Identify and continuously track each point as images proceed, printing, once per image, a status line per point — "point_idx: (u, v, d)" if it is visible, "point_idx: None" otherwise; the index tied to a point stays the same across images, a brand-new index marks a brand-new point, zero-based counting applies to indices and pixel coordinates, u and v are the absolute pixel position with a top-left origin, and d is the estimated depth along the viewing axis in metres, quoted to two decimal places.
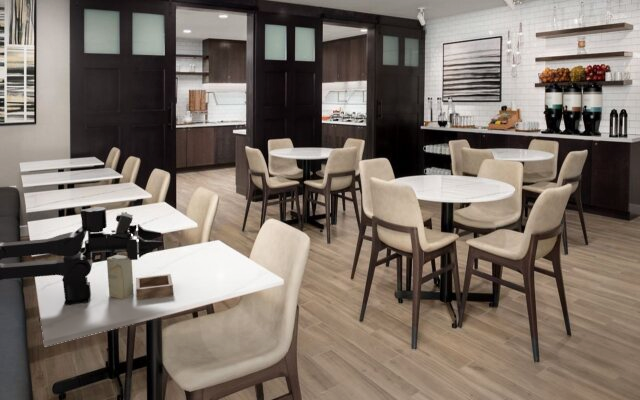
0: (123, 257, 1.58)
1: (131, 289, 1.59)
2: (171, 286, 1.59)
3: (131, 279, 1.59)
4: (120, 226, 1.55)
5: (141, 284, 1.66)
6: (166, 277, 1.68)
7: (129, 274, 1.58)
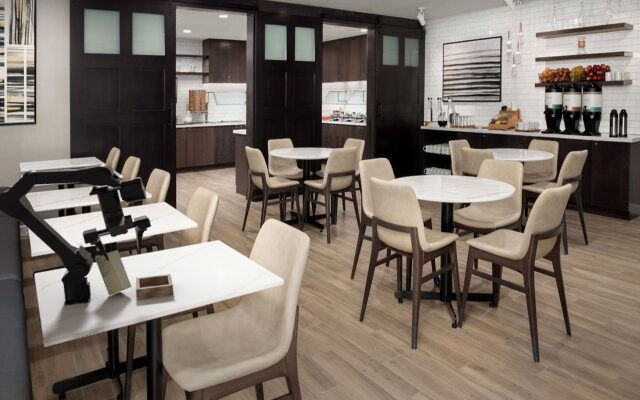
0: None
1: (127, 281, 1.60)
2: (171, 286, 1.59)
3: (124, 271, 1.60)
4: (107, 224, 1.50)
5: (141, 284, 1.66)
6: (166, 277, 1.68)
7: (120, 266, 1.59)
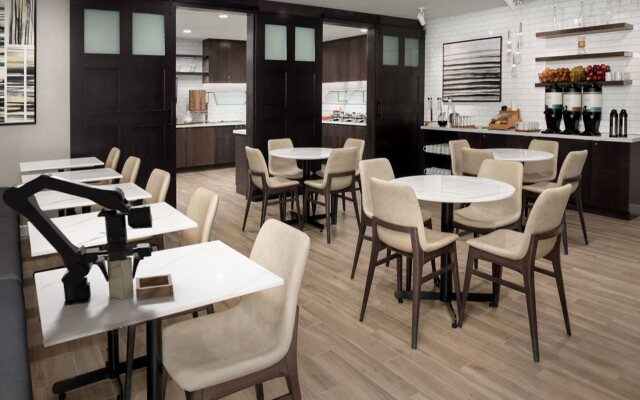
0: None
1: (131, 289, 1.59)
2: (171, 286, 1.59)
3: (131, 279, 1.59)
4: (108, 248, 1.51)
5: (141, 284, 1.66)
6: (166, 277, 1.68)
7: (129, 274, 1.58)
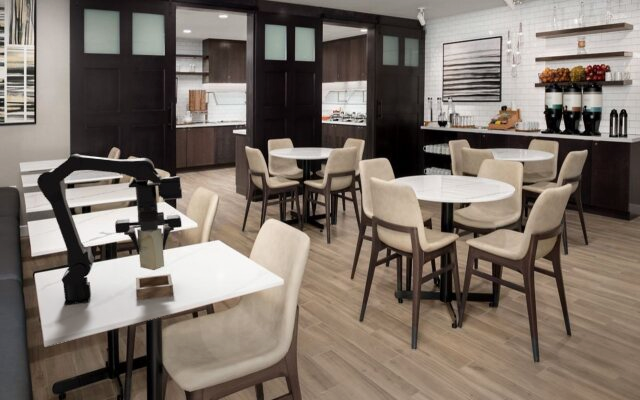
0: None
1: (162, 260, 1.61)
2: (171, 286, 1.59)
3: (161, 250, 1.60)
4: (139, 218, 1.52)
5: (141, 284, 1.66)
6: (166, 277, 1.68)
7: (160, 245, 1.59)
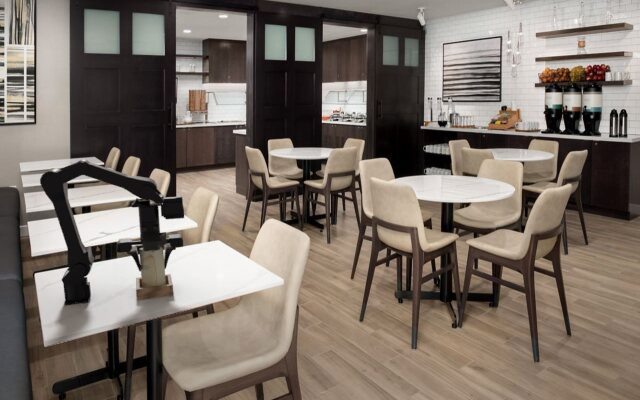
0: None
1: (163, 279, 1.62)
2: (171, 286, 1.59)
3: (163, 269, 1.62)
4: (142, 238, 1.54)
5: (141, 284, 1.66)
6: (166, 277, 1.68)
7: (161, 264, 1.61)
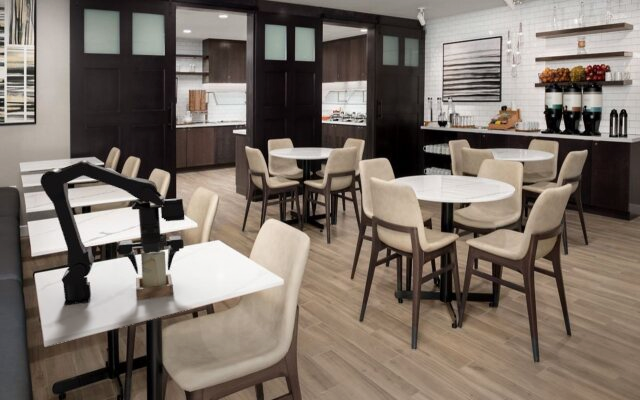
0: None
1: (164, 283, 1.62)
2: (171, 286, 1.59)
3: (164, 273, 1.62)
4: (142, 240, 1.54)
5: (141, 284, 1.66)
6: (166, 277, 1.68)
7: (162, 268, 1.61)
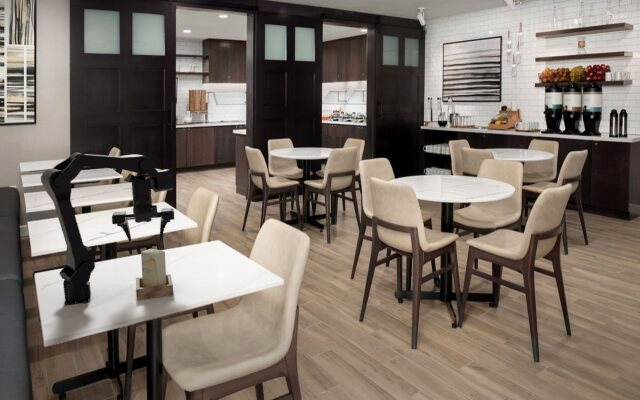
0: (157, 251, 1.61)
1: (164, 283, 1.62)
2: (171, 286, 1.59)
3: (164, 273, 1.62)
4: (134, 210, 1.62)
5: (141, 284, 1.66)
6: (166, 277, 1.68)
7: (162, 268, 1.61)
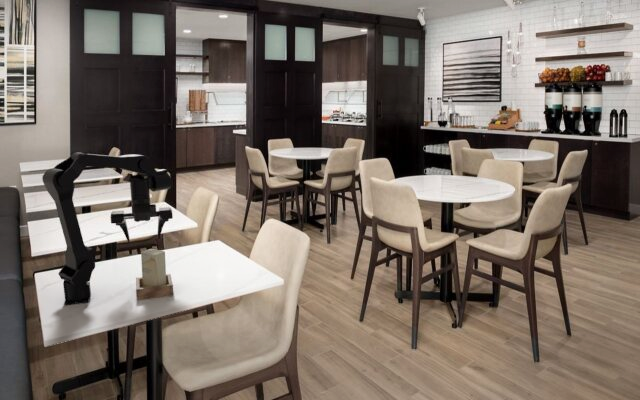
0: (157, 251, 1.61)
1: (164, 283, 1.62)
2: (171, 286, 1.59)
3: (164, 273, 1.62)
4: (133, 209, 1.64)
5: (141, 284, 1.66)
6: (166, 277, 1.68)
7: (162, 268, 1.61)
